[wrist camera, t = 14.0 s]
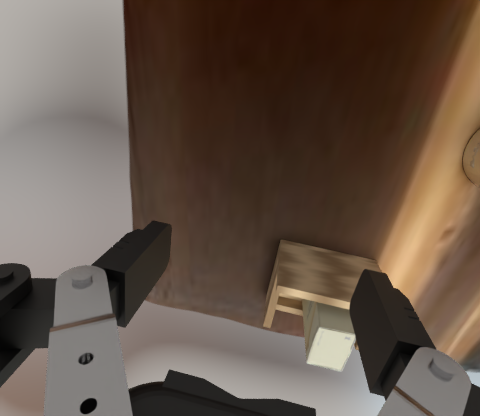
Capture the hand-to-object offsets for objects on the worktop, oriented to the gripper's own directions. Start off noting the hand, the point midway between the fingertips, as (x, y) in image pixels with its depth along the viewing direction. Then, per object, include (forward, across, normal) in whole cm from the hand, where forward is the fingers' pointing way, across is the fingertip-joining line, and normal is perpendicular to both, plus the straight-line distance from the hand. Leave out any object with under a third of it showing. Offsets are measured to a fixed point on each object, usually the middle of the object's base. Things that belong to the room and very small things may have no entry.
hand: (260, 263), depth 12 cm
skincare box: (+27, -10, +19) cm, 35 cm away
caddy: (+28, -10, +19) cm, 35 cm away
